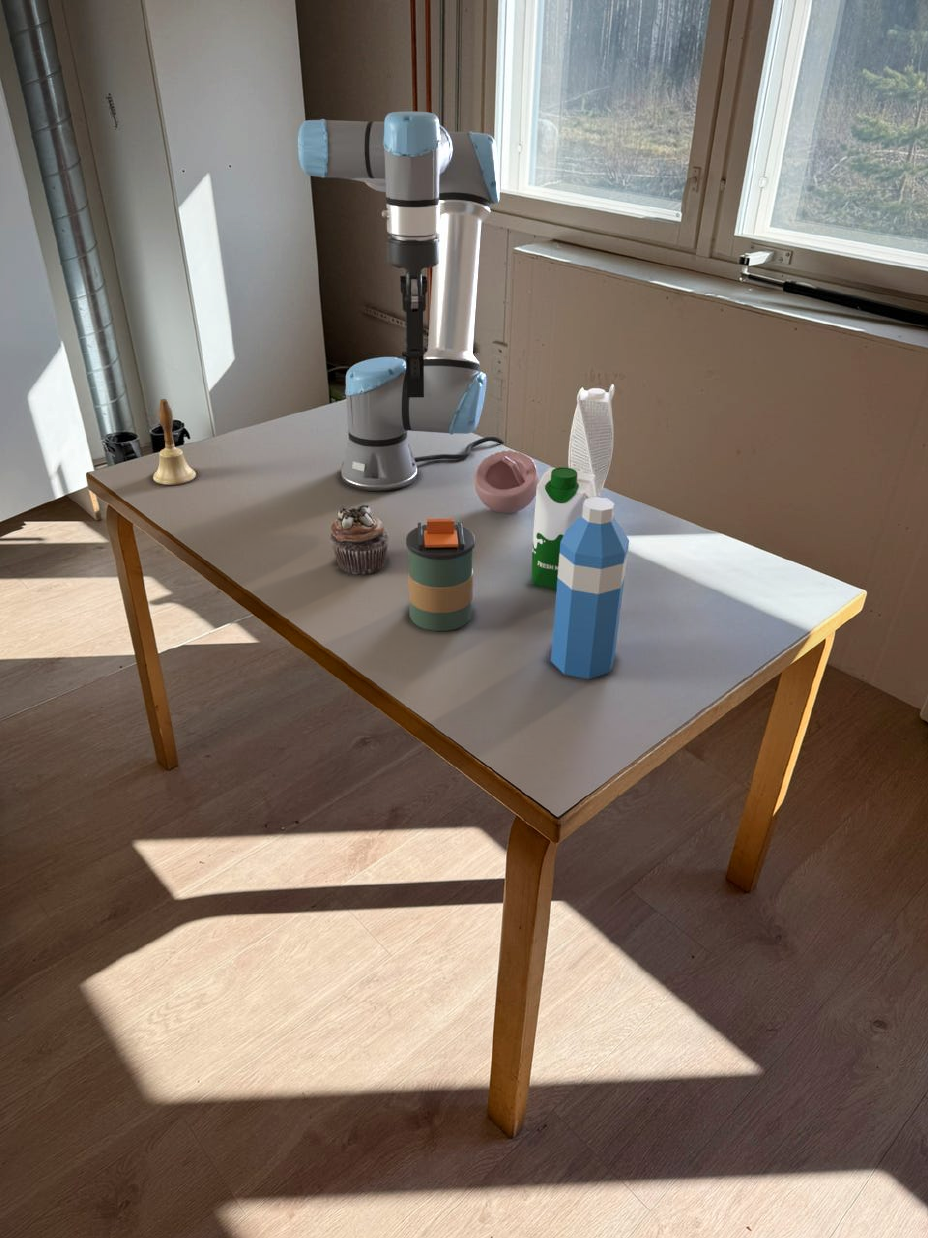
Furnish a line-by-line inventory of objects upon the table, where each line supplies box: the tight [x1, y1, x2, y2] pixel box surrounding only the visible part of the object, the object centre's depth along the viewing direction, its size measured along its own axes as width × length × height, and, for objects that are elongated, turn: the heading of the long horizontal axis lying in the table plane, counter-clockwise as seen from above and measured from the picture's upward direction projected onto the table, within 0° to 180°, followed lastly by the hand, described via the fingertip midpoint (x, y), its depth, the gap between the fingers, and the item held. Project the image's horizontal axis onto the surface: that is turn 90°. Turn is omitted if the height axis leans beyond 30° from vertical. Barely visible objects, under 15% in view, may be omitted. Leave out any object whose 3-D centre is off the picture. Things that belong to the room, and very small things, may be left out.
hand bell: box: [152, 398, 197, 486], centre depth 181 cm, size 8×8×16 cm
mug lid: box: [405, 521, 476, 560], centre depth 136 cm, size 10×10×2 cm
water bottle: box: [550, 496, 630, 680], centre depth 127 cm, size 9×9×25 cm
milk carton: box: [531, 466, 595, 590], centre depth 148 cm, size 9×9×20 cm
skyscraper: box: [567, 383, 615, 497], centre depth 160 cm, size 8×8×28 cm
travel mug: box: [407, 548, 474, 632], centre depth 140 cm, size 10×10×12 cm
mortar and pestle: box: [474, 449, 540, 514], centre depth 172 cm, size 12×12×12 cm
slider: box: [424, 518, 458, 548], centre depth 134 cm, size 4×5×2 cm
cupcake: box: [330, 504, 390, 575], centre depth 154 cm, size 10×10×10 cm
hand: (415, 395), depth 144 cm, fingers closed
